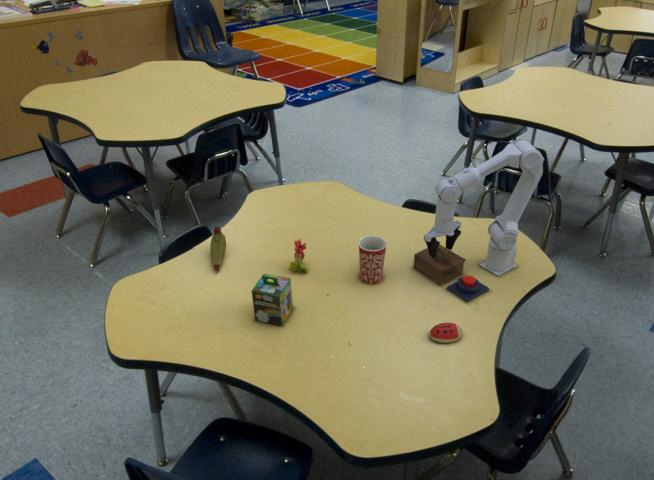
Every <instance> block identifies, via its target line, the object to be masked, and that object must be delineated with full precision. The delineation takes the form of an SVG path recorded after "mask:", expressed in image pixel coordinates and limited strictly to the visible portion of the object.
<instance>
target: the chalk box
mask: <svg viewBox="0 0 654 480" xmlns="http://www.w3.org/2000/svg"><path fill="white" fill-rule="evenodd" d="M291 279H292V278H291V277H287V276H281V275H274V274H267V273H263V274H262V275H261V276H260V278H259V279H258V280H257V282H256V283H255V285H254V286H253V288H252V289H251V299H252V305H253V313H254V321H258V322H262V323H267V324H271V325H276V326H280V327H282V326H284V324H285V322H286V320H287V319H288V317H289V316H290V314H291V312H292V311H293V309H294V303H293V302H294V301H293V291H292V280H291Z"/></svg>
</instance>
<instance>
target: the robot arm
mask: <svg viewBox="0 0 654 480" xmlns="http://www.w3.org/2000/svg"><path fill="white" fill-rule="evenodd" d="M544 161H545V158H544V156H543V154H542V153H541V151H540V150H538V149H536V147H534V145H532V144H531V143H530V141H529V140H528V139H527V138H517V139H514V141H512V142H510V143H508V144H507V145H506V146H505V147H504V148H503V149H502V151H500V152H498V153H496V154H495V155H494V156H492V157H491V158H489V159H487V160H486V161H484V162H482V163H481V164H479V165H478V166H477V167H474V166H472V167H471V166H470V167H468V168H467V167H465V168H463V169H462V171H460V172H459V173H457V174H455V175H454V176H450V177H449V178H443V179H441V180H439V181H438V183H437V184H436V186H435V187H434V189H435V192H436V193H437V198H436V206H435V214H434V215H435V216H434V225H433V227H432V228H430V230H429V231H427V232H426V233H425V234H424V236H423V241H424V242H425V244H426V247H427V248H428V251H429V256H431V257H432V258H435V257H436V253H437V249H438V246H439V244H440V245H441V242H440V241H439V240H438V239H437V238H439V237H444V236H445V248H447V249H448V250H450V251H452V250H453V248H454V246H455V244H456V241H457V240H458V238H459V237H460V236H461V235H462V231H461V230H460V229H461V227H462V222H461V221H459V220H454V219H455V213H456V212H455V211H456V202H457V201H458V200H459V198H460V197H461V196H462V194H463V193H465V192H467V191H469V190H470V189H472V188H474V187H475V186H477V185H479V184H480V183H481V181H482V178H484V177H486V176H488V175H490V174H492V173H495V172H497V171H498V170H501V169H503V168H505V167H511V168H515V169H521V170H522V173H521V175H520V177H519V179H518V181H517V182H516V186H515V187H514V188H513V190H512V193H511V195H510V197H509V199H508V201H507V203H506V205H505V208H504V209H503V210H502V214H500V215H497V216H496V217H495V219H494V220H493V221H492V222H491V223H490V224H489V225H488V227H487V233H488V235H489V236H490V237H489V241H488V246H487V252H486V254H487V255H486V260H485V261H483V262H481V263H479V266H480V267H482V268H483V269H485V270H486V271H488V272H490V273H492V274H494V275H496V276H497V277H500V276H501V275H503V274H505V273H507V272H509V271H510V270H513V269H514V268H516V267H517V264H516V263H515V262H516V256H517V253H518V247H517V238H518V234H519V222H520V219H521V217H522V215H523V214H524V211H525V209H526V207H527V205H528V203H529V202H530V200H531V198H532V196H533V194H534V193H535V190H536V188H537V187H538V184H539V182H540V181H541V178H542V176H543V173H544V165H543V164H544Z"/></svg>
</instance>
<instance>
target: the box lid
mask: <svg viewBox="0 0 654 480" xmlns="http://www.w3.org/2000/svg"><path fill="white" fill-rule="evenodd" d="M414 256H416V257H418V258H419V259H421V260H423V261H424V262H426V263H427V264H429V265H431V266H432V267H434V268H435V269H437V270H439V271H440V272H444V271H446V270H448V269H450V268H452V267H454V266H456V265H458V264H460V263H462V262H464V263H465V262H466V261H467V260H466V259H465V258H464V257H462V256H460V255H459V254H457V253H456V252H453V251H452V250H449V249H447V248H446V246H444V245H442V244H441V243H440V244H439V246H438V249H437V253H436V257H435V258H432V257H431V256H429V251H428V247H427V248H425V249H422V250H419V251H418V252H416V253H414Z"/></svg>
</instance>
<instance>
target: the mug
mask: <svg viewBox="0 0 654 480" xmlns="http://www.w3.org/2000/svg"><path fill="white" fill-rule="evenodd" d="M357 244H358V256H359V278H360V280H361V281H362V282H363V283H366V284H370V285H371V284H372V285H373V284H378V283H380V282H381V281H382V279H383V273H384V267H385V259H386V252H387V251H386V250H387V246H388V243H387V240H386V239H384V238H383V237H381V236H378V235H366V236H363V237H362V238H359V240H358V242H357Z"/></svg>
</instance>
